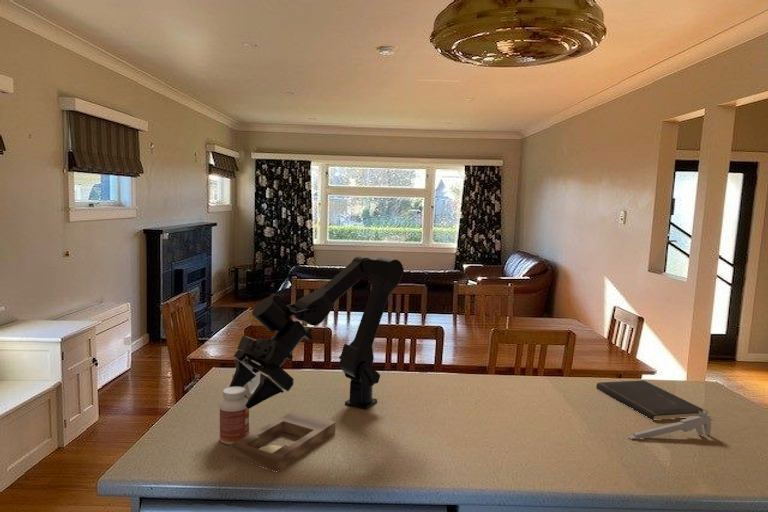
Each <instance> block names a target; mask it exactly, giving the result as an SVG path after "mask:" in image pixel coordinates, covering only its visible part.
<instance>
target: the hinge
mask: <svg viewBox="0 0 768 512" xmlns="http://www.w3.org/2000/svg"><path fill="white" fill-rule="evenodd" d="M235 371H236V367H235V369H234V370H233V371H232V372H233V373H232V375H231V378H232V379H233V377H234V374H235ZM251 372H252V371H251ZM252 373H254V372H252ZM254 374H255V375H256V376H255V377H254V378H253V379H252V380H250V381H249V382H248V383H247V384H245V385H244V386H243V387H244V388H245V390H246V395H245V398H247V399H248V400H249V398H250V397H251V396H252V394H253V393H254V391H255V390H256V388H257V387H258V385H259V383H260V374H263V375H265V376H268V375H266V374H264V373H262V372H260V371H259V372H257V373H254ZM232 379H231V380H232Z"/></svg>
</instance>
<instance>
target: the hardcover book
mask: <svg viewBox="0 0 768 512" xmlns="http://www.w3.org/2000/svg"><path fill="white" fill-rule="evenodd" d="M596 390H598V391H600V392H601V393H604V394H605V395H607V396H608V397H610V398H612V399H614V400H615V399H616V401H617V402H618V403H621V404H622V403H623V404H622V405H624V404H625V405H624V406H626V405H627V406H629V407H631V408H633V409H634V410H636V411H638V412H639V413H641V414H643V415H645V416H647V417H648V418H650V419H652V420H654V419H657V421H659V420H658V419H671V418H680V417H689V416H699V411H700V412H703V410H705V411H707V414H708V413H709V412H708V410H706V409H704V408H702V407H700V406H698V405H696V404H693V403H691V402H690V401H687V400H685V399H683V398H682V397H679V396H676V395H675V394H673V393H671V392H669V391H666V390H665V389H662V388H661V387H658V386H657V385H654V384H652V383H650V382H648V381H646V380H644V379H643V380H623V381H621V380H620V381H602V382H597V383H596ZM627 406H626V407H627ZM629 407H628V408H629ZM631 408H630V409H631ZM633 409H632V410H633ZM634 410H633V411H634ZM636 411H635V412H636ZM638 412H637V413H638ZM639 413H638V414H639ZM641 414H640V415H641ZM643 415H642V416H643ZM645 416H644V417H645ZM648 418H647V419H648ZM650 419H649V420H650Z"/></svg>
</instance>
